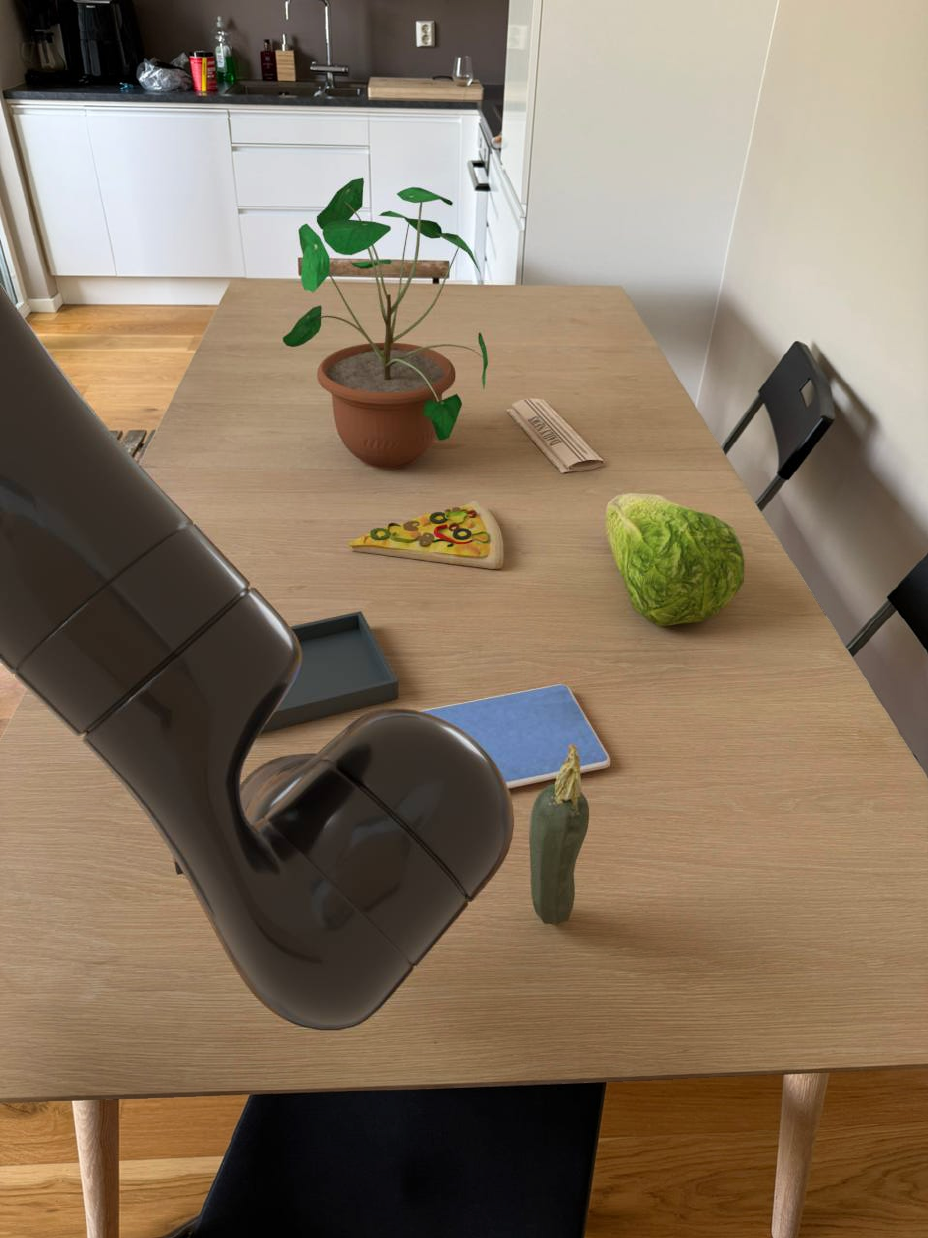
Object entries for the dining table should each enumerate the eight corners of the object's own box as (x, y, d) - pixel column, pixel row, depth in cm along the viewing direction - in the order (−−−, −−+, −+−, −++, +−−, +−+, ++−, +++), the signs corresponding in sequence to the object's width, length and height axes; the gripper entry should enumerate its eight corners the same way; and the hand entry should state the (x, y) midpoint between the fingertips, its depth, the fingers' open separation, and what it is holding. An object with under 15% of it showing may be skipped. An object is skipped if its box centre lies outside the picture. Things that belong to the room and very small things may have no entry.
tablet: (424, 811, 84) (424, 802, 83) (394, 721, 93) (394, 712, 92) (612, 771, 89) (614, 762, 88) (565, 689, 98) (566, 680, 97)
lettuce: (569, 555, 124) (665, 554, 127) (634, 640, 103) (747, 636, 106) (583, 458, 118) (684, 459, 121) (656, 527, 97) (775, 526, 100)
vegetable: (555, 954, 72) (582, 789, 60) (509, 929, 74) (526, 763, 62) (579, 914, 75) (609, 749, 63) (534, 891, 77) (554, 726, 65)
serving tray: (239, 739, 91) (235, 721, 89) (215, 660, 100) (212, 643, 99) (398, 698, 96) (398, 681, 95) (362, 627, 106) (361, 610, 104)
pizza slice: (512, 569, 116) (514, 550, 114) (353, 583, 113) (352, 564, 111) (487, 509, 128) (488, 491, 126) (343, 520, 125) (342, 501, 123)
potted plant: (518, 473, 137) (538, 195, 113) (336, 506, 128) (316, 211, 103) (445, 395, 159) (449, 149, 135) (286, 418, 150) (259, 158, 126)
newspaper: (603, 467, 139) (604, 457, 138) (561, 473, 137) (562, 463, 136) (543, 406, 157) (544, 396, 155) (506, 410, 155) (506, 401, 154)
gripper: (420, 722, 48) (361, 733, 64) (143, 793, 43) (155, 786, 59) (454, 859, 47) (386, 836, 63) (177, 947, 43) (180, 898, 59)
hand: (274, 812), depth 61 cm, fingers closed on beverage can, 5 cm apart
